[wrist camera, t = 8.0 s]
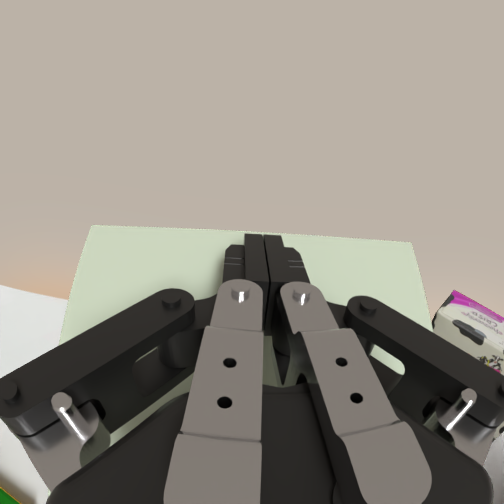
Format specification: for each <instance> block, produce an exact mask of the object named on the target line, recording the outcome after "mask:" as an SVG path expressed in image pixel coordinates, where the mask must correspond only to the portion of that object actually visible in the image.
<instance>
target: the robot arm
mask: <svg viewBox="0 0 504 504" xmlns="http://www.w3.org/2000/svg"><path fill="white" fill-rule="evenodd" d="M263 330H264V336H272V346H271V357H272V362H273V367H274V371H275V376H276V381H277V386H278V387H275V386H270V385H265V384H262V378H263ZM374 345H376V346H378V347H379V348H381V349H383V350H384V351H386V352H387V353H389V354H390V355H392V356H393V357H395V358H396V359H398V360H399V361H401V362H402V364H403V365H404V368H405V372H404V374H399V373H397V372H395V371H394V370H392V369H391V368H389V367H388V366H386V365H385V364H383V363H382V362H380V361H379V360H377V359H376V358H374V357H373V356H371V355H370V354H371V352H372V350H373V348H374ZM156 347H157V348H156ZM154 348H156V349H155V350H153V349H154ZM151 350H153V351H152V352H150V351H151ZM148 352H150V353H149V354H147V355H146V356H144V357H143V358H141V359H140V360H138V359H139V358H140V357H142V356H143V355H145V354H146V353H148ZM137 360H138V361H137ZM136 361H137V362H136ZM193 373H194V375H193V380H192V384H191V388H190V392H187V393H184V394H181V395H179V396H177V397H175V398H173V399H171V400H170V401H168V402H166V403H165V404H164V405H162V406H161V407H160V408H159V409H157V410H156V411H155V412H154V413H153V414H151V415H150V416H149V417H148V418H146V419H145V420H144V421H143V422H141V423H140V424H139V425H138V426H136V427H135V428H134V429H132V430H131V431H130V432H129V433H127V434H126V435H125V436H123V437H122V438H121V439H120V440H118V441H117V442H116V443H114V444H113V445H112V446H110V443H111V437H110V434H112V433H113V432H114V431H116V430H117V429H119V428H120V427H122V426H123V425H124V424H126V423H127V422H129V421H130V420H131V419H133V418H134V417H136V416H137V415H138V414H140V413H141V412H142V411H144V410H145V409H147V408H148V407H149V406H151V405H152V404H153V403H155V402H156V401H157V400H159V399H160V398H161V397H163V396H164V395H165V394H167V393H168V392H169V391H171V390H172V389H173V388H175V387H176V386H177V385H178V384H180V383H181V382H182V381H184V380H185V379H186V378H188V377H189V376H190V375H191V374H193ZM0 418H1V419H2V420H3V422H4V423H5V424H6V425H7V427H8V428H9V430H10V431H11V432H12V433H13V434H14V435H15V436H16V437H17V438H18V439H19V440H20V441H21V443H22V445H23V447H24V449H25V451H26V453H27V454H28V456H29V458H30V460H31V461H32V463H33V465H34V466H35V468H36V470H37V471H38V473H39V475H40V476H41V478H42V479H43V481H44V482H45V484H46V486H47V487H48V488H49V490H50V491H51V494H50V495H49V497H48V499H47V502H46V504H492V503H493V486H492V482H491V479H490V477H489V475H488V473H487V471H486V470H485V469H484V467H483V463H484V461H485V459H486V456H487V454H488V451H489V448H490V446H491V443H492V440H493V438H494V435H495V432H496V429H497V428H498V427H499V426H500V425H501V424H502V423H503V422H504V375H502V374H501V373H499V372H497V371H496V370H494V369H492V368H491V367H489V366H488V365H486V364H484V363H483V362H481V361H479V360H478V359H476V358H475V357H473V356H471V355H470V354H468V353H466V352H465V351H463V350H461V349H460V348H458V347H456V346H455V345H453V344H451V343H450V342H448V341H447V340H445V339H443V338H441V337H440V336H438V335H436V334H435V333H433V332H431V331H430V330H428V329H426V328H425V327H423V326H421V325H420V324H418V323H416V322H415V321H413V320H411V319H409V318H408V317H406V316H404V315H403V314H401V313H399V312H398V311H396V310H394V309H392V308H391V307H389V306H387V305H386V304H384V303H382V302H380V301H379V300H377V299H375V298H372V297H369V296H362V295H360V296H354V297H352V298H350V299H349V301H348V303H347V306H344V305H339V304H335V303H331V302H328V301H326V300H325V298H324V296H323V294H322V292H321V291H320V290H319V289H318V288H317V287H315V286H314V285H312V284H311V283H310V280H309V277H308V274H307V272H306V269H305V266H304V263H303V260H302V257H301V255H300V253H299V252H298V251H297V250H295V249H294V248H293V247H284V244H283V240H282V237H281V235H267V234H263V236H262V234H248V233H245V234H244V245H236V244H231V245H230V246H229V247H228V248H227V249H226V250H225V259H224V269H223V280H222V285H221V286H220V287H219V289H218V293H217V294H215V295H214V296H211V297H209V298H205V299H200V300H194V297H193V296H192V295H191V294H190V293H189V292H187V291H185V290H182V289H177V288H169V289H163V290H160V291H158V292H156V293H154V294H152V295H151V296H149V297H147V298H145V299H143V300H141V301H139V302H138V303H136V304H134V305H132V306H130V307H128V308H127V309H125V310H123V311H121V312H119V313H117V314H116V315H114V316H112V317H110V318H108V319H106V320H105V321H103V322H101V323H99V324H97V325H95V326H94V327H92V328H90V329H88V330H86V331H85V332H83V333H81V334H79V335H77V336H75V337H74V338H72V339H70V340H68V341H66V342H65V343H63V344H61V345H59V346H57V347H56V348H54V349H52V350H50V351H48V352H47V353H45V354H43V355H41V356H39V357H38V358H36V359H34V360H32V361H30V362H29V363H27V364H25V365H23V366H22V367H20V368H18V369H16V370H14V371H13V372H11V373H9V374H7V375H6V376H4V377H2V378H1V379H0Z"/></svg>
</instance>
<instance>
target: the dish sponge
mask: <svg viewBox="0 0 504 504" xmlns="http://www.w3.org/2000/svg"><path fill="white" fill-rule="evenodd" d="M0 504H22V503H20V502H19V501H18V500H17V499H15V498H14V497H13V496H11V495H10V494H9V493H8V492H6V491H5V490H4V489H3V488H2V487H0Z"/></svg>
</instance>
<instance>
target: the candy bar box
mask: <svg viewBox="0 0 504 504" xmlns="http://www.w3.org/2000/svg"><path fill="white" fill-rule="evenodd" d="M432 328H433V333H435V334H436V335H438V336H440V337H441V338H443V339H445V340H447V341H448V342H450V343H451V344H453V345H455V346H456V347H458V348H460V349H461V350H463V351H465V352H466V353H468V354H470V355H471V356H473V357H475V358H476V359H478V360H479V361H481V362H483V363H484V364H486V365H488V366H489V367H491V368H492V369H494V370H496V371H497V372H499V373H501V374H502V375H504V318H503V317H501V316H500V315H498V314H496V313H495V312H493V311H491V310H490V309H488V308H486V307H484V306H482V305H481V304H479V303H477V302H475V301H474V300H472V299H470V298H468V297H466V296H465V295H463V294H461V293H459V292H457V291H455V290H453V292H452V293H451V295H450V296H449V297H448V298H447V300H446V301H445V302H444V303H443V304H442V306H441V307H440V308H439V309H438V311H437V312H436V314H435V316H434V318H433V320H432ZM503 432H504V422H503V423H502V424H501V425H500V426H499V427H498V428H497V429H496V432H495V435H494V438H493V440H492V442H493V441H494V440H495V439H496V438H498V437H499V436H500V435H501V434H502V433H503Z"/></svg>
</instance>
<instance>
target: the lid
mask: <svg viewBox="0 0 504 504" xmlns="http://www.w3.org/2000/svg"><path fill="white" fill-rule="evenodd" d="M245 233H248V234H262V236H263V234H267V235H281V237H282V240H283V244H284V247H293V248H294V249H295V250H297V251H298V252H299V253H300V255H301V257H302V260H303V263H304V266H305V269H306V272H307V274H308V277H309V280H310V283H311V284H312V285H314V286H315V287H317V288H318V289H319V290H320V291H321V292H322V294H323V296H324V298H325V300H326V301H328V302H331V303H335V304H339V305H344V306H347V303H348V301H349V299H350V298H352V297H354V296H360V295H362V296H369V297H372V298H375V299H377V300H379V301H380V302H382V303H384V304H386V305H387V306H389V307H391V308H392V309H394V310H396V311H398V312H399V313H401V314H403V315H404V316H406V317H408V318H409V319H411V320H413V321H415V322H416V323H418V324H420V325H421V326H423V327H425V328H426V329H428V330H430V331H431V332H433V328H432V323H431V318H430V314H429V309H428V304H427V299H426V295H425V291H424V287H423V283H422V279H421V275H420V271H419V267H418V264H417V260H416V257H415V253H414V250H413V247H412V244H411V243H409V242H398V241H385V240H372V239H358V238H343V237H330V236H315V235H299V234H283V233H265V232H247V231H246V232H245V231H228V230H208V229H185V228H161V227H134V226H103V225H92V226H91V228H90V231H89V234H88V237H87V240H86V243H85V246H84V249H83V252H82V255H81V258H80V261H79V265H78V268H77V271H76V275H75V279H74V282H73V286H72V289H71V293H70V297H69V300H68V304H67V309H66V313H65V317H64V321H63V326H62V331H61V336H60V341H59V345H61V344H63V343H65V342H66V341H68V340H70V339H72V338H74V337H75V336H77V335H79V334H81V333H83V332H85V331H86V330H88V329H90V328H92V327H94V326H95V325H97V324H99V323H101V322H103V321H105V320H106V319H108V318H110V317H112V316H114V315H116V314H117V313H119V312H121V311H123V310H125V309H127V308H128V307H130V306H132V305H134V304H136V303H138V302H139V301H141V300H143V299H145V298H147V297H149V296H151V295H152V294H154V293H156V292H158V291H160V290H163V289H169V288H177V289H182V290H185V291H187V292H189V293H190V294H191V295H192V296H193V297H194V300H200V299H205V298H209V297H211V296H214V295H215V294H217V293H218V289H219V287H220V286H221V285H222V280H223V269H224V259H225V250H226V249H227V248H228V247H229V246H230V245H231V244H236V245H244V234H245ZM271 346H272V336H264V330H263V378H262V384H265V385H270V386H275V387H278V386H277V381H276V376H275V371H274V367H273V362H272V357H271ZM156 348H157V347H156ZM156 348H154V349H153V350H155V349H156ZM153 350H151V351H150V352H152V351H153ZM150 352H148V353H146V354H145V355H143V356H142V357H140V358H139V359H138V360H140V359H141V358H143V357H144V356H146V355H147V354H149V353H150ZM370 355H371V356H373V357H374V358H376V359H377V360H379V361H380V362H382V363H383V364H385V365H386V366H388V367H389V368H391V369H392V370H394V371H395V372H397V373H399V374H404V372H405V368H404V365H403V364H402V362H401V361H399V360H398V359H396V358H395V357H393V356H392V355H390V354H389V353H387V352H386V351H384V350H383V349H381V348H379V347H378V346H376V345H374V348H373V350H372V352H371V354H370ZM138 360H137V361H138ZM137 361H136V362H137ZM193 375H194V373H193V374H191V375H190V376H189V377H188V378H186V379H185V380H184V381H182V382H181V383H180V384H178V385H177V386H176V387H175V388H173V389H172V390H171V391H169V392H168V393H167V394H165V395H164V396H163V397H161V398H160V399H159V400H157V401H156V402H155V403H153V404H152V405H151V406H149V407H148V408H147V409H145V410H144V411H142V412H141V413H140V414H138V415H137V416H136V417H134V418H133V419H131V420H130V421H129V422H127V423H126V424H124V425H123V426H122V427H120V428H119V429H117V430H116V431H114V432H113V433H112V434H110V437H111V443H110V446H112V445H113V444H114V443H116V442H117V441H118V440H120V439H121V438H122V437H123V436H125V435H126V434H127V433H129V432H130V431H131V430H132V429H134V428H135V427H136V426H138V425H139V424H140V423H141V422H143V421H144V420H145V419H146V418H148V417H149V416H150V415H151V414H153V413H154V412H155V411H156V410H157V409H159V408H160V407H161V406H162V405H164V404H165V403H166V402H168V401H170V400H171V399H173V398H175V397H177V396H179V395H181V394H184V393H187V392H190V388H191V384H192V380H193ZM50 494H51V491H50V490H49V488H48V497H49V495H50Z"/></svg>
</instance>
